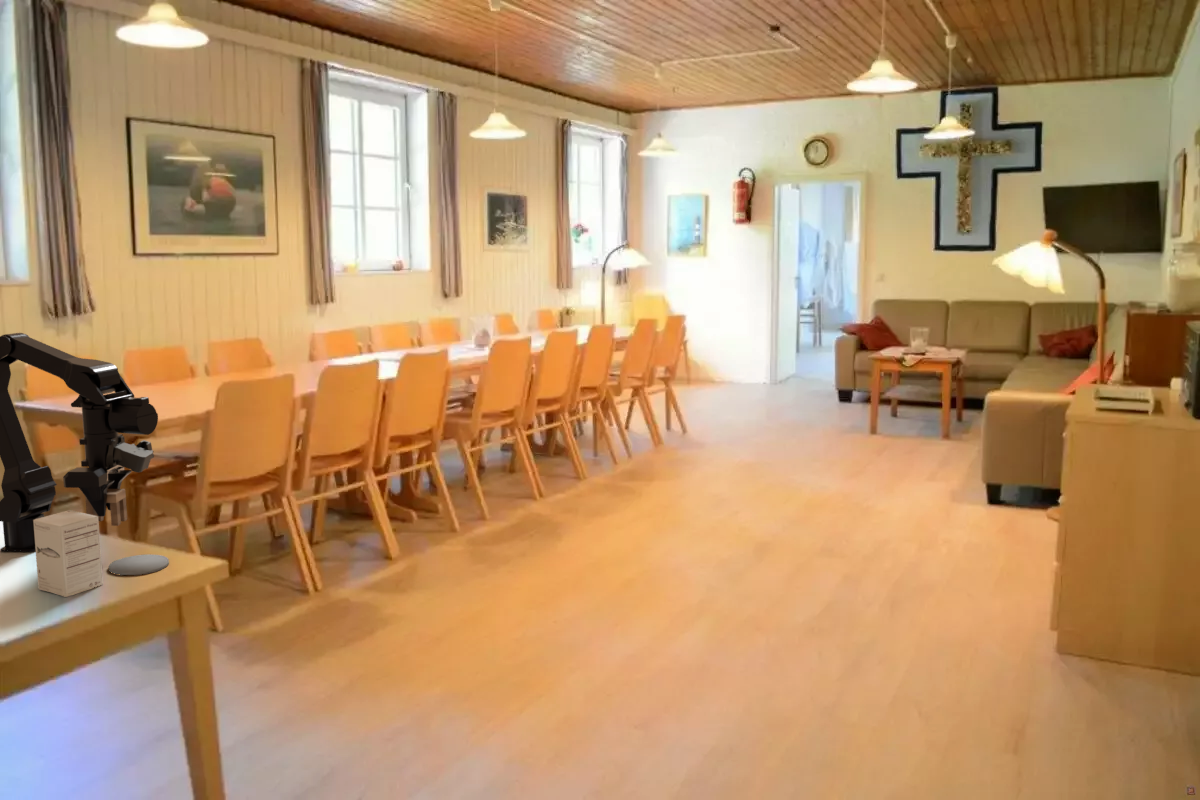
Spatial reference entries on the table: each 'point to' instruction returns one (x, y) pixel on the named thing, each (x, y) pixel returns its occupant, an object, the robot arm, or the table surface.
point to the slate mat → (139, 564)
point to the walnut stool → (112, 506)
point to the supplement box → (68, 552)
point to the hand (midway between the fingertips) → (106, 513)
